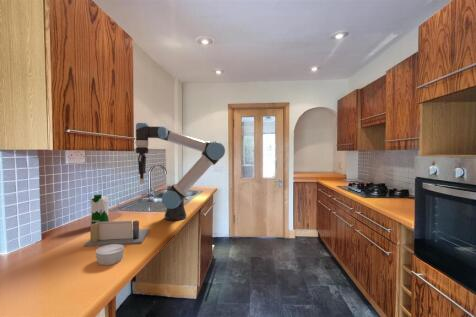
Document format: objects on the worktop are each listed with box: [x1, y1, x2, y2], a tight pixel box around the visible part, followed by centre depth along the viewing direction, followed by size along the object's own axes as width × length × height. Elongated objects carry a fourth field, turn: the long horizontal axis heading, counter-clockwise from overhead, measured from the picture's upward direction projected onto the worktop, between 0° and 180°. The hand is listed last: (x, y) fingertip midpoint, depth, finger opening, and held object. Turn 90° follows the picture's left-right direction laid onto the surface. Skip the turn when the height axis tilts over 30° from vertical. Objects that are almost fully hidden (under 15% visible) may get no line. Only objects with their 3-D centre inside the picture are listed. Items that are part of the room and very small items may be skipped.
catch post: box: [89, 223, 99, 243], centre depth 124 cm, size 3×2×10 cm
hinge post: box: [132, 220, 140, 239], centre depth 130 cm, size 3×3×10 cm
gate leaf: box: [95, 220, 133, 240], centre depth 128 cm, size 18×2×9 cm, turn 100°
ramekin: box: [94, 244, 125, 266], centre depth 106 cm, size 11×11×5 cm
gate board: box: [83, 228, 150, 247], centre depth 133 cm, size 27×21×1 cm
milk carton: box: [89, 194, 110, 225], centre depth 154 cm, size 9×9×20 cm
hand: (142, 183), depth 158 cm, fingers closed
